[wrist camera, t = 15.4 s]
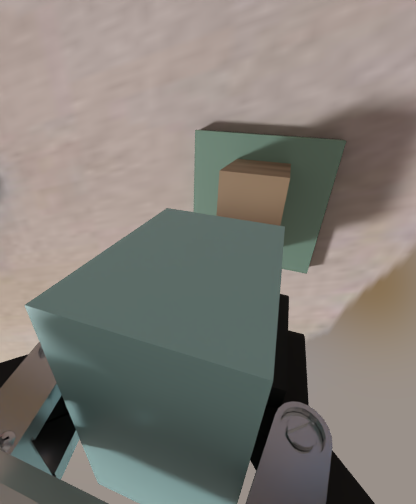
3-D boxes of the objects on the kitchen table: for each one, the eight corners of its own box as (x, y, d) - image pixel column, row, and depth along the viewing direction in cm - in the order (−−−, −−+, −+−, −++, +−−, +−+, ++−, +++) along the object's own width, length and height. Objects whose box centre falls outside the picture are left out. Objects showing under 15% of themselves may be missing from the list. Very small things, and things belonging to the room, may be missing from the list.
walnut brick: (237, 158, 21) (219, 170, 16) (290, 163, 20) (290, 178, 15) (228, 241, 25) (212, 271, 20) (273, 249, 24) (268, 283, 19)
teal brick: (167, 208, 10) (25, 305, 4) (284, 226, 8) (273, 380, 3) (171, 347, 13) (98, 483, 8) (252, 371, 12) (224, 544, 7)
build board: (199, 129, 22) (195, 130, 21) (343, 139, 19) (346, 140, 18) (196, 246, 28) (192, 251, 27) (306, 267, 25) (306, 273, 24)
